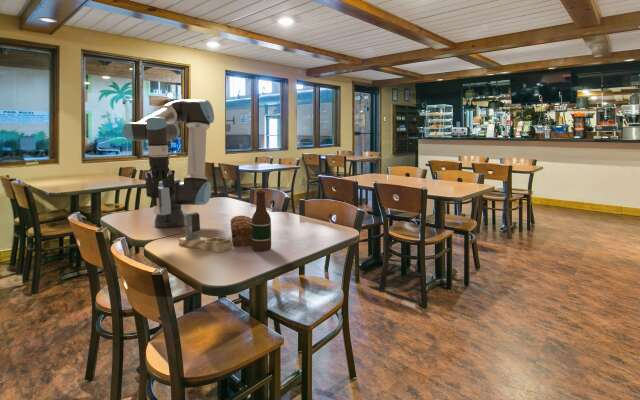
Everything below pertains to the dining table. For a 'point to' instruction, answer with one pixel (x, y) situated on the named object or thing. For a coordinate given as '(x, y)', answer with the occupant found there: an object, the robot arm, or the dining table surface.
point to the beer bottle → (261, 225)
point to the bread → (241, 230)
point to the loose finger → (164, 200)
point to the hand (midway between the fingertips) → (162, 212)
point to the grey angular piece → (200, 242)
